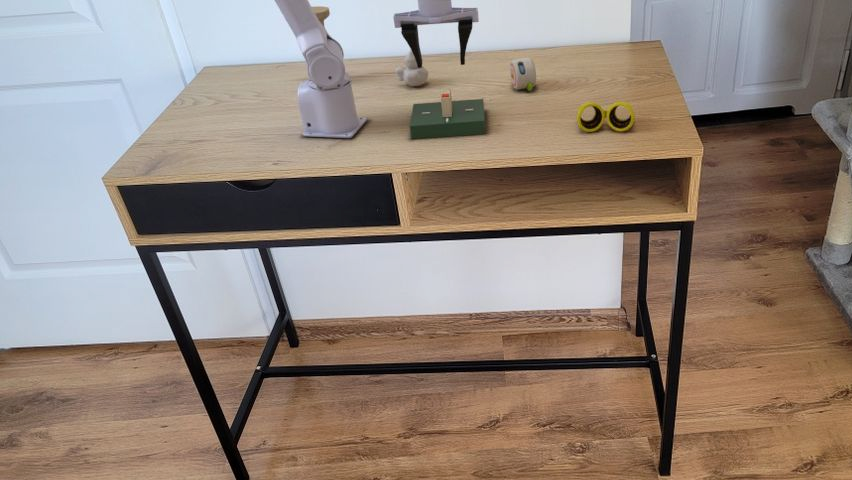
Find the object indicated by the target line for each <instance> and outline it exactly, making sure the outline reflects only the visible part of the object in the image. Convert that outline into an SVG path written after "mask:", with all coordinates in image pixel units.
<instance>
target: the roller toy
mask: <svg viewBox="0 0 852 480" xmlns="http://www.w3.org/2000/svg"><path fill="white" fill-rule="evenodd" d="M509 75H510V81H511V84H512V86H513V88H514V89H515V90H517V91H519V90H525V89H526V90H527V91H528V92H531V91H532V90H533V88H534V87H535V86H536V84H537V71H536V65H535V63H534V61H533V59H532V58H531V57H521V58H520V57H519V58H515V59H512V60H511V61H510V64H509Z"/></svg>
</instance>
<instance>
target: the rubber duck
mask: <svg viewBox="0 0 852 480" xmlns="http://www.w3.org/2000/svg"><path fill="white" fill-rule="evenodd" d="M423 61H424V60H423V59H422V62H423ZM403 64H404V66H405V67H403V66H398V67H396V68H395V69H394V72H395V75H396V80H397V81H399V82H405V83H406V84H407V85H408V86H410V87H420V86H422V85H424V84H425V83H426V82H427V80H428V78H429V71H428V69H427V68H425V66H423V65H422V68H418V66H417V62H416V59H415V57H414V55H413V52H412V50H411V49H410V50H409V52H408V53H407V54H406V55H405V57H404V60H403Z"/></svg>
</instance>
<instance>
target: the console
mask: <svg viewBox="0 0 852 480" xmlns="http://www.w3.org/2000/svg"><path fill="white" fill-rule="evenodd" d="M409 123H410V124H409V129H410V136H411V140H417V139H418V140H419V139H432V138H433V139H435V138H446V137H459V136H473V135H485V134H486V115H485V101H484V98H477V99H463V100H452V117H443V114H442V105H441V101H435V102H422V103H421V102H420V103H413V104H412V111H411V117H410V122H409Z"/></svg>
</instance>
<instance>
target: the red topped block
mask: <svg viewBox="0 0 852 480" xmlns="http://www.w3.org/2000/svg"><path fill="white" fill-rule="evenodd" d="M440 89H441V90H440V92H441V93H440V102H441V105H442V114H443V117H452V101H453V99H452V90H451V89H452V88H451V86H446V87H445V86H444V87H441V88H440Z"/></svg>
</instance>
